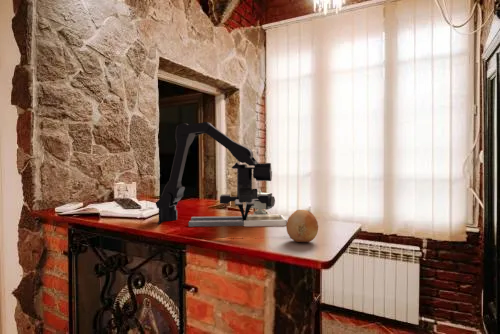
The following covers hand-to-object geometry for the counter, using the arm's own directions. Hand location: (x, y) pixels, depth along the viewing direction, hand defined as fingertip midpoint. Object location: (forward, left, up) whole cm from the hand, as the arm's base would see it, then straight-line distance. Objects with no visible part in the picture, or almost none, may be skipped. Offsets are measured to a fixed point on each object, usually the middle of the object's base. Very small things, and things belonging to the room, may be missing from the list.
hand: (244, 221), depth 118 cm
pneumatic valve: (+8, +12, -2) cm, 14 cm away
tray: (+7, 0, -2) cm, 8 cm away
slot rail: (-10, 0, -2) cm, 11 cm away
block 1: (+3, 0, -1) cm, 3 cm away
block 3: (+11, 0, -1) cm, 11 cm away
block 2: (+7, 0, -1) cm, 7 cm away
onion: (+17, -24, -2) cm, 29 cm away
